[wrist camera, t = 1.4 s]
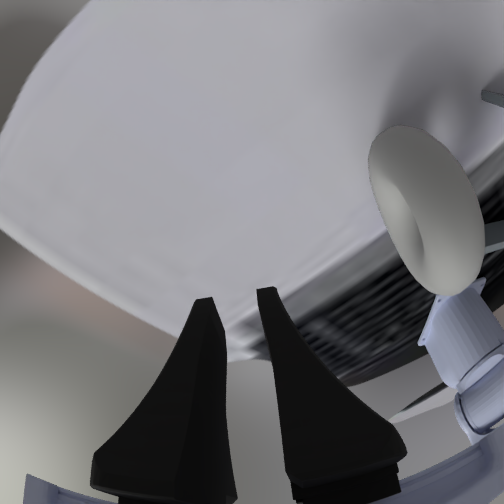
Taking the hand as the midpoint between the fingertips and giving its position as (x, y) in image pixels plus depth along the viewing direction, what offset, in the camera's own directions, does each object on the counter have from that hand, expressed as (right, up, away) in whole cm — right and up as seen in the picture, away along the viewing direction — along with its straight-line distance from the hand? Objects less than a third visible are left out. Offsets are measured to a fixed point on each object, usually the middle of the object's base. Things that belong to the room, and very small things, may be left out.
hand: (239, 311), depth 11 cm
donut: (+10, +7, +7) cm, 14 cm away
